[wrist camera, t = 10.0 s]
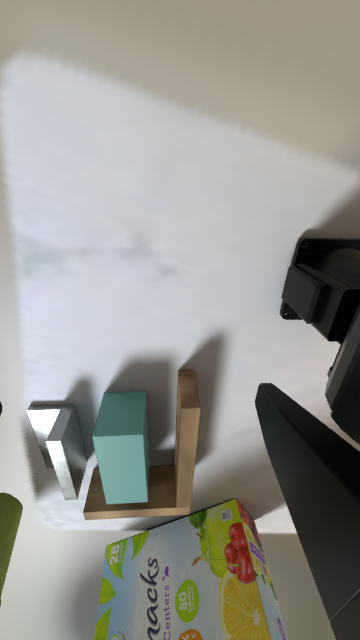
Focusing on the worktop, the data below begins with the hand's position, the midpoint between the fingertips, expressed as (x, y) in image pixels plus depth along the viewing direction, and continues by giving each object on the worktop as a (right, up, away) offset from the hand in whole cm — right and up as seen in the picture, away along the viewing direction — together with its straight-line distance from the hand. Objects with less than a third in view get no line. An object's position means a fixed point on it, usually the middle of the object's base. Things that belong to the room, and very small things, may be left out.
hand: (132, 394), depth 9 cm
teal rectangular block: (-4, -9, +18) cm, 21 cm away
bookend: (-11, -10, +18) cm, 23 cm away
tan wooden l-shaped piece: (-3, -9, +19) cm, 21 cm away
